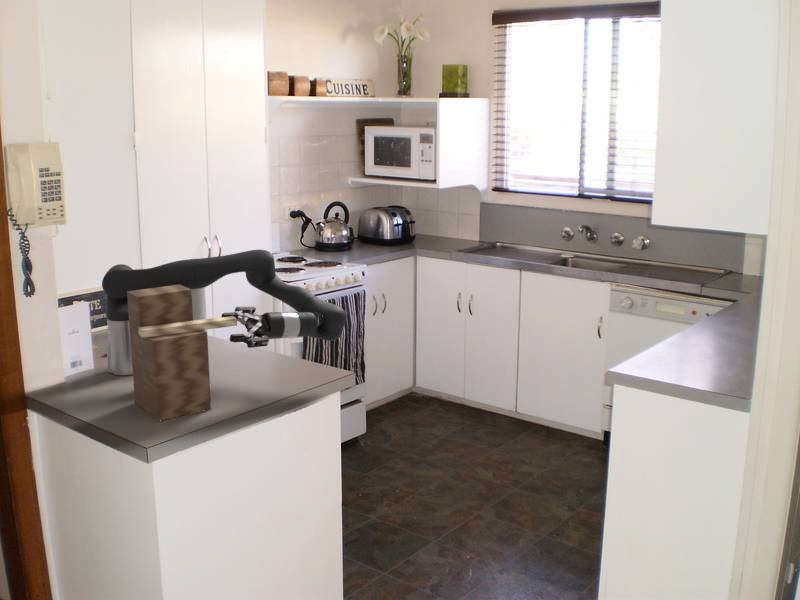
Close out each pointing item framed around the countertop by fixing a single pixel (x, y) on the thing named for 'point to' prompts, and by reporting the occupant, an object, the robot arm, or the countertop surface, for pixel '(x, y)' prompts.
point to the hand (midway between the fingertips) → (226, 327)
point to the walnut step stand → (168, 354)
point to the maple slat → (187, 326)
